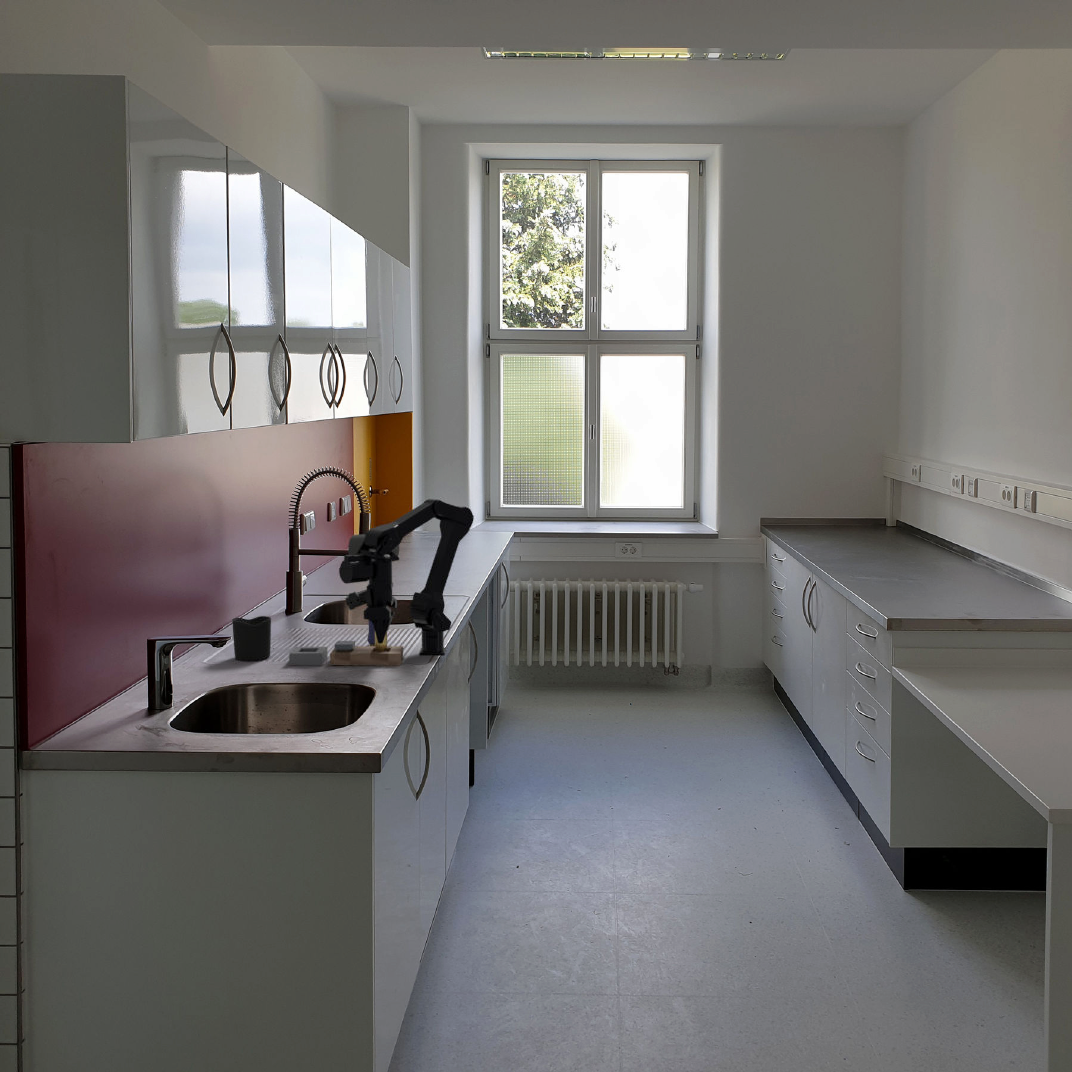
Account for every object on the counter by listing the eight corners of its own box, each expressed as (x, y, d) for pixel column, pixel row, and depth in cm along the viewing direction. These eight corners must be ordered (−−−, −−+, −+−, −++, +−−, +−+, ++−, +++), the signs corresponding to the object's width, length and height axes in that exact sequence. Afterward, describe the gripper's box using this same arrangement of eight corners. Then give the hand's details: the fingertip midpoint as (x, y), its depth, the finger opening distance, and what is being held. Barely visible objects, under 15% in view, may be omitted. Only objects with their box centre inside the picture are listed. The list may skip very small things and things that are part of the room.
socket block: (335, 658, 268) (335, 646, 268) (403, 657, 269) (403, 646, 269) (330, 665, 259) (329, 653, 259) (399, 665, 260) (399, 653, 260)
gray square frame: (295, 658, 268) (295, 646, 267) (327, 658, 268) (327, 646, 268) (289, 665, 260) (289, 653, 259) (322, 665, 260) (322, 653, 260)
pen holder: (246, 653, 274) (246, 614, 273) (278, 655, 271) (278, 616, 270) (225, 660, 265) (224, 621, 264) (258, 663, 262) (257, 623, 261)
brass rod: (375, 657, 266) (375, 626, 265) (387, 657, 266) (387, 625, 265) (374, 660, 263) (374, 628, 262) (386, 660, 263) (386, 628, 262)
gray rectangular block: (337, 659, 266) (337, 640, 266) (355, 658, 266) (355, 640, 266) (334, 662, 262) (334, 644, 261) (352, 662, 262) (352, 644, 261)
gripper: (353, 574, 271) (353, 634, 273) (342, 585, 253) (342, 649, 254) (396, 574, 272) (397, 634, 273) (389, 585, 253) (389, 649, 255)
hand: (381, 642), depth 264 cm, fingers closed on brass rod, 3 cm apart
